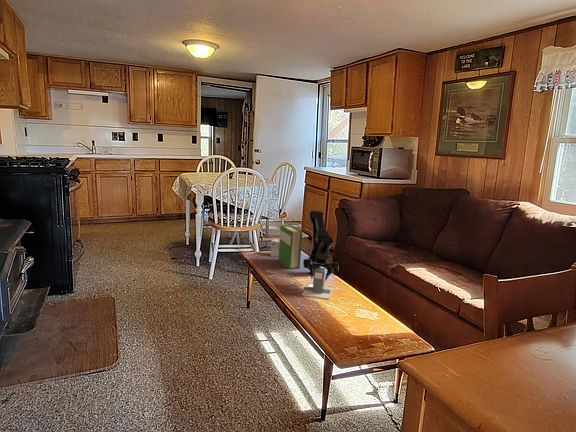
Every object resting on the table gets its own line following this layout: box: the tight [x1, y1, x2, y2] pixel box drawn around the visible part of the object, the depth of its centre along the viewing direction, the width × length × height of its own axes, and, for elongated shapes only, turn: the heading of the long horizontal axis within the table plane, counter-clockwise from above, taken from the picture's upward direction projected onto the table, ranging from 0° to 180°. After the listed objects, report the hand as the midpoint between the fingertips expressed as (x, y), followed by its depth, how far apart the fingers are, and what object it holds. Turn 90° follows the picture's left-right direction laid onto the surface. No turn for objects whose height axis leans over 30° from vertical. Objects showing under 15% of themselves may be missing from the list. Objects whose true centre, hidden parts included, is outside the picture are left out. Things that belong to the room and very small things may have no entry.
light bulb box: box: [270, 238, 280, 258], centre depth 269 cm, size 11×7×11 cm, turn 84°
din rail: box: [305, 286, 331, 293], centre depth 206 cm, size 2×13×1 cm, turn 77°
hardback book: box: [278, 224, 303, 270], centre depth 248 cm, size 18×7×24 cm, turn 23°
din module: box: [312, 267, 326, 294], centre depth 205 cm, size 6×5×12 cm
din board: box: [301, 284, 334, 300], centre depth 207 cm, size 16×14×1 cm
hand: (318, 279), depth 204 cm, fingers open, 7 cm apart
